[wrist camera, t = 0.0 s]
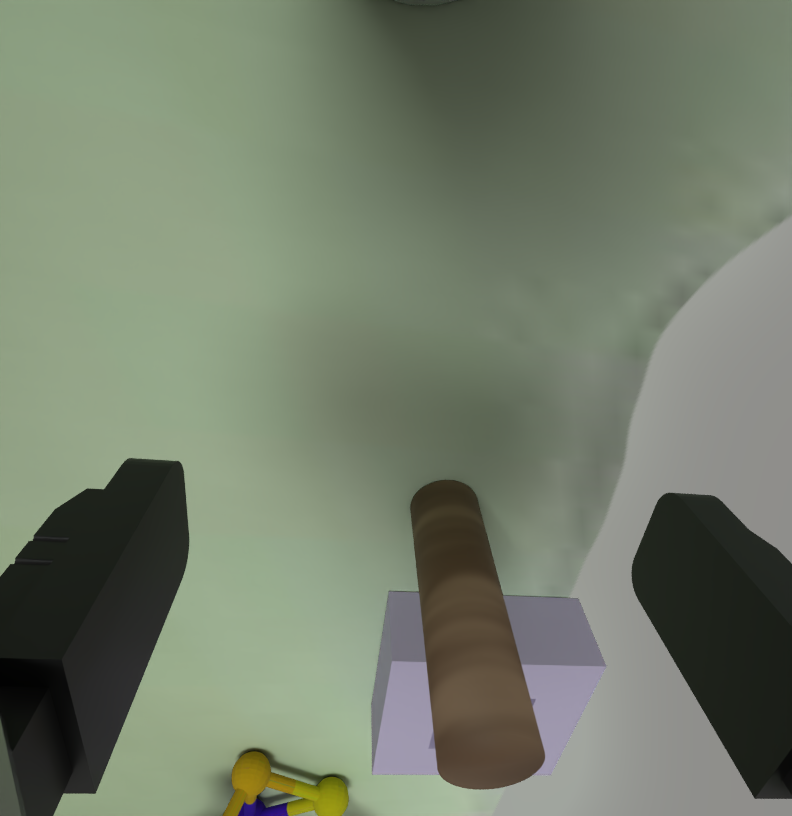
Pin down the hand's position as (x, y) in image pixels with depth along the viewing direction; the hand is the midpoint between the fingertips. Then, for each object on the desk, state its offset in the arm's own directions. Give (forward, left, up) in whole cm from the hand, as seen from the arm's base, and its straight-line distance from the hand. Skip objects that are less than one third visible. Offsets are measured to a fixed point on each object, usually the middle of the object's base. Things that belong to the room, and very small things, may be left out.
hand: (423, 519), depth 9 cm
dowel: (+15, +5, -17) cm, 23 cm away
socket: (+29, +9, -17) cm, 35 cm away
